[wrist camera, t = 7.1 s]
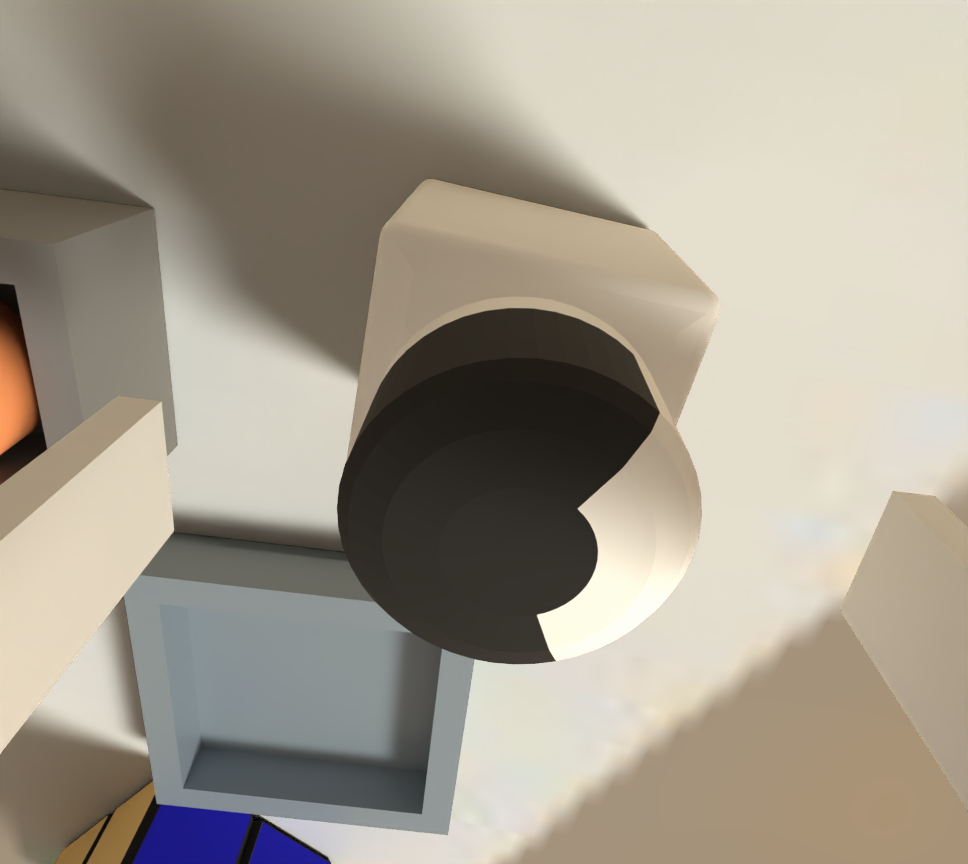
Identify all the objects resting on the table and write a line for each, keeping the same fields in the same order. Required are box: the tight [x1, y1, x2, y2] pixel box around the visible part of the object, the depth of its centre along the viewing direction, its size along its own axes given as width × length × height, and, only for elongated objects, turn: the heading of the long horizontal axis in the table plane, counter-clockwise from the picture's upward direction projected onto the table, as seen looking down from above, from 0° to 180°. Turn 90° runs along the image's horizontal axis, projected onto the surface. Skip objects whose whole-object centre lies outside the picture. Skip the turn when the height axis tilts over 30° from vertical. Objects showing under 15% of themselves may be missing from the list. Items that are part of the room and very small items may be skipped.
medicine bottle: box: [337, 179, 720, 664], centre depth 16 cm, size 7×7×12 cm
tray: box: [124, 532, 474, 835], centre depth 27 cm, size 12×12×2 cm
